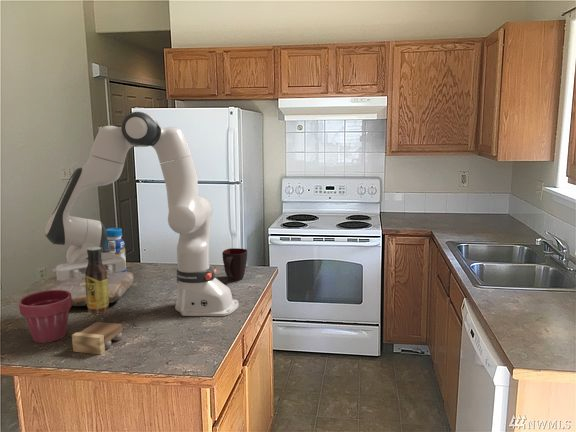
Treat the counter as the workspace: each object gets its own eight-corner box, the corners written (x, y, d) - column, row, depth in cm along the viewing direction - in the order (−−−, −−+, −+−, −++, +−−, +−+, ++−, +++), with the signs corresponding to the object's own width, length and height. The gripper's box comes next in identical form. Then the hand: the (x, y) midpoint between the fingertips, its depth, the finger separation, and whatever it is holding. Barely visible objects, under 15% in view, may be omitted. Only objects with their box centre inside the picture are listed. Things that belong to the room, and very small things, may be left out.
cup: (250, 276, 209) (250, 249, 207) (239, 286, 196) (238, 257, 194) (229, 274, 212) (228, 247, 210) (216, 284, 199) (215, 255, 196)
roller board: (123, 337, 148) (122, 322, 147) (100, 354, 137) (99, 337, 137) (97, 335, 150) (96, 320, 149) (73, 351, 140) (71, 335, 139)
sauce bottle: (84, 310, 149) (78, 247, 146) (104, 305, 153) (99, 244, 150) (93, 316, 144) (87, 251, 141) (113, 310, 149) (108, 247, 145)
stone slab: (136, 283, 201) (135, 269, 200) (126, 308, 173) (124, 291, 172) (56, 288, 196) (55, 274, 195) (33, 315, 168) (31, 298, 167)
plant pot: (27, 351, 140) (22, 309, 138) (19, 335, 151) (15, 295, 149) (79, 338, 148) (76, 298, 146) (69, 323, 159) (65, 286, 157)
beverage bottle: (103, 273, 214) (99, 229, 211) (120, 269, 220) (117, 226, 217) (113, 277, 209) (109, 232, 205) (130, 273, 215) (127, 228, 212)
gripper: (50, 259, 151) (57, 270, 140) (117, 249, 162) (129, 259, 151) (52, 278, 152) (59, 291, 141) (119, 268, 163) (130, 278, 152)
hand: (96, 274), depth 146 cm, fingers closed on sauce bottle, 6 cm apart
